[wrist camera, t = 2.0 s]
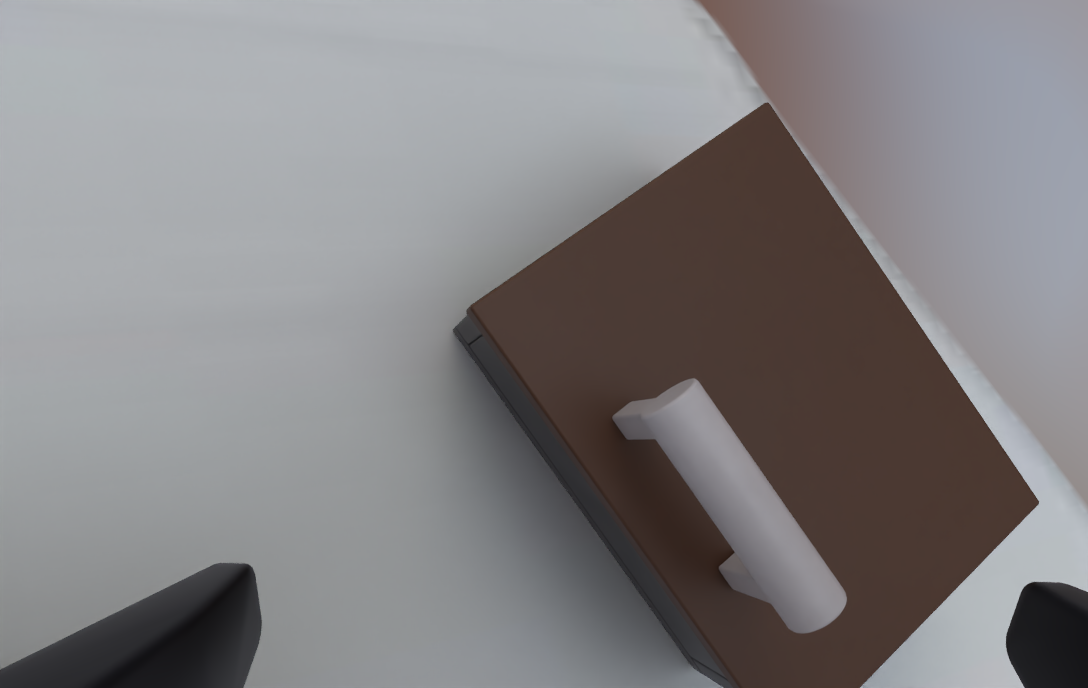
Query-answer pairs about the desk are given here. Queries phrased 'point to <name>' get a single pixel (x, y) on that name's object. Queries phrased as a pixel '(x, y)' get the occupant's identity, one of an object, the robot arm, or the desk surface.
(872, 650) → the lid
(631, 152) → the desk surface
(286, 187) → the desk surface
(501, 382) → the dark grey box
